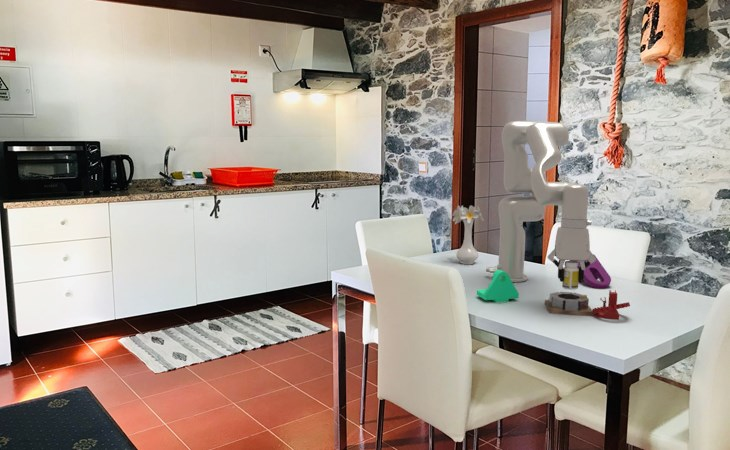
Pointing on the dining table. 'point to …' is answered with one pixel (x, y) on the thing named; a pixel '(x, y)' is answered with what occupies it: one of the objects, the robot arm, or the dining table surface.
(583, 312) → the block
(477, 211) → the flower vase
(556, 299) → the hub
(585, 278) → the mounting bracket
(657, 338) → the dining table surface
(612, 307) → the red toothed piece
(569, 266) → the supplement bottle
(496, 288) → the camera mount
